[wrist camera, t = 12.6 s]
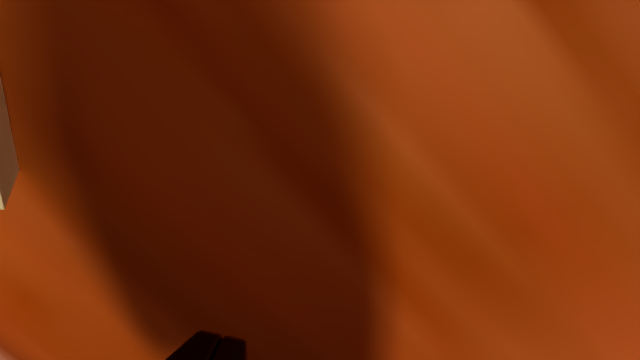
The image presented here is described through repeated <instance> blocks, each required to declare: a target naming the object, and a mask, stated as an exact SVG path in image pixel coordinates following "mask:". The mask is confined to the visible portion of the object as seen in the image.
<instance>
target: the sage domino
mask: <svg viewBox="0 0 640 360" xmlns="http://www.w3.org/2000/svg"><path fill="white" fill-rule="evenodd" d="M18 172H19V166H18V161H17V156H16V151H15V146H14V141H13V136H12V131H11V126H10V121H9V116H8V111H7V106H6V101H5V96H4V91H3V86H2V81H1V76H0V209H5V206H6V204H7V201H8V198H9V196H10V193H11V190H12V188H13V185H14V183H15V180H16V177H17V175H18Z"/></svg>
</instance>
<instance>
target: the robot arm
mask: <svg viewBox="0 0 640 360" xmlns="http://www.w3.org/2000/svg"><path fill="white" fill-rule="evenodd" d="M166 360H247V344H246V341H245V340H244V339H240V338H236V337H231V336H224V337H222V335H220V334H218V333H213V332H209V331H204V330H201V331H198V332H197V333H195V334H194V335H193V336H192V337H191V338H190V339H189V340H187V341H186V342H185V343H184V344H183V345H182V346H181V347H179V348H178V349H177V350H176V351H175V352H174V353H173V354H171V355H170V356H169V357H168V358H167V359H166Z"/></svg>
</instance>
